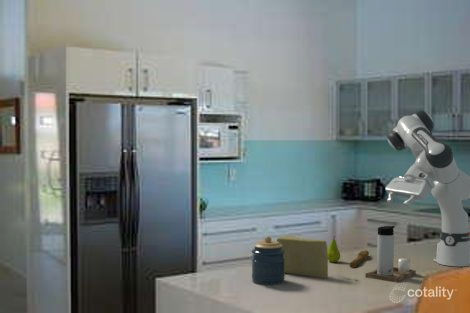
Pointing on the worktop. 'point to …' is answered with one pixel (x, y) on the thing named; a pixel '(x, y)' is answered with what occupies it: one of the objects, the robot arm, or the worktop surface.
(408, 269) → the white egg
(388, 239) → the travel mug
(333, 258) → the fruit
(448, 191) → the robot arm
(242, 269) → the worktop surface
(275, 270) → the canister
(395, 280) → the tray
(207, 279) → the worktop surface
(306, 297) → the worktop surface
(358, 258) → the tap handle
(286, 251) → the cheese
